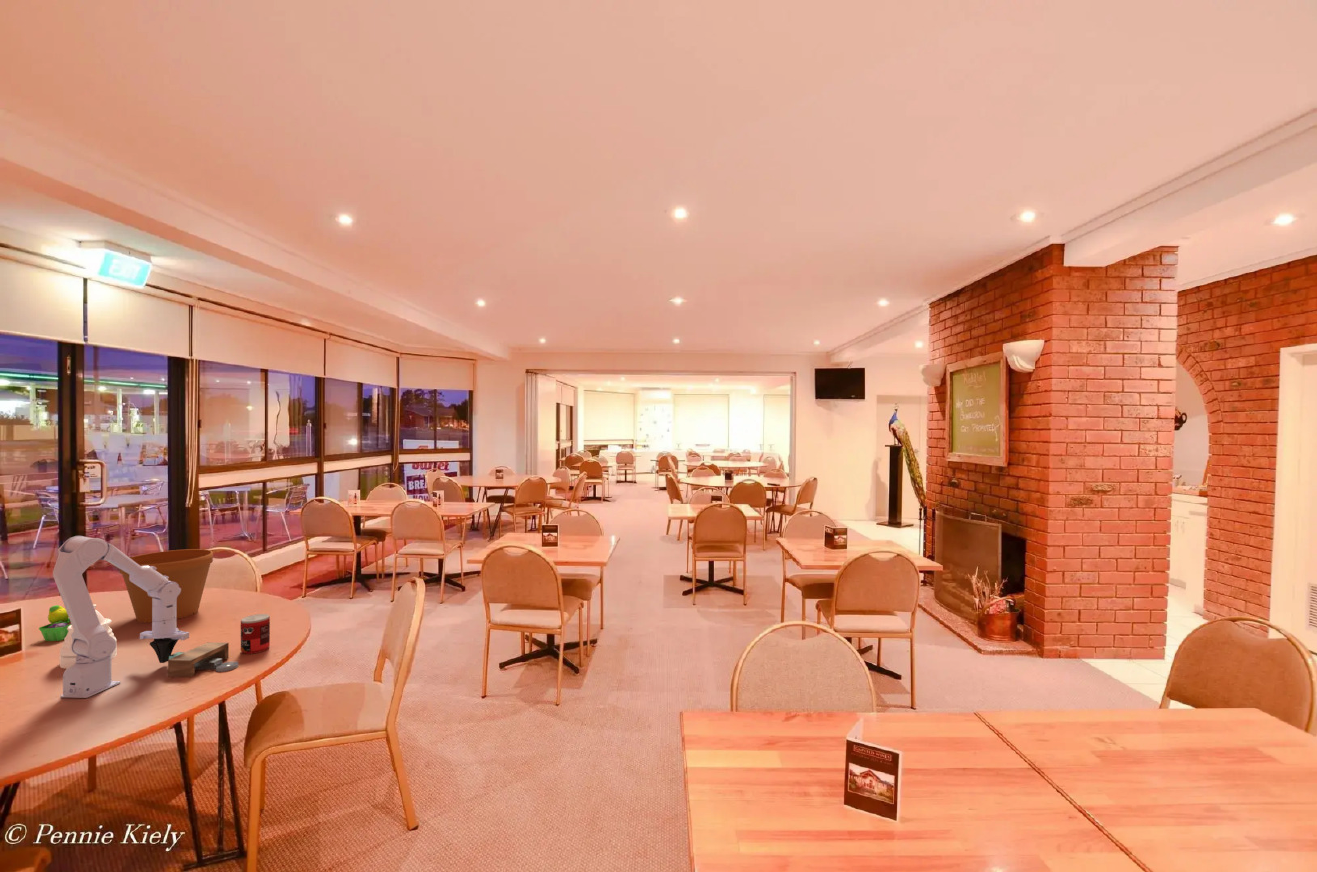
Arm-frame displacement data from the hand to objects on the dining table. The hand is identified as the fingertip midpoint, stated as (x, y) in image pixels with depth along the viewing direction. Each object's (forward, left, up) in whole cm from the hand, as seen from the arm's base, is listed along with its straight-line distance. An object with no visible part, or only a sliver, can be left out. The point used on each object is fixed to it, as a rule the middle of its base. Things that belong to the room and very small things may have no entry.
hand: (164, 661), depth 174 cm
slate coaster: (0, -21, -2) cm, 21 cm away
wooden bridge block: (0, -11, -1) cm, 11 cm away
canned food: (+14, -18, -2) cm, 23 cm away
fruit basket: (+22, +60, -2) cm, 64 cm away
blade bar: (0, -10, -2) cm, 11 cm away
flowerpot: (+46, +44, -2) cm, 63 cm away
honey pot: (+3, +29, -2) cm, 29 cm away
